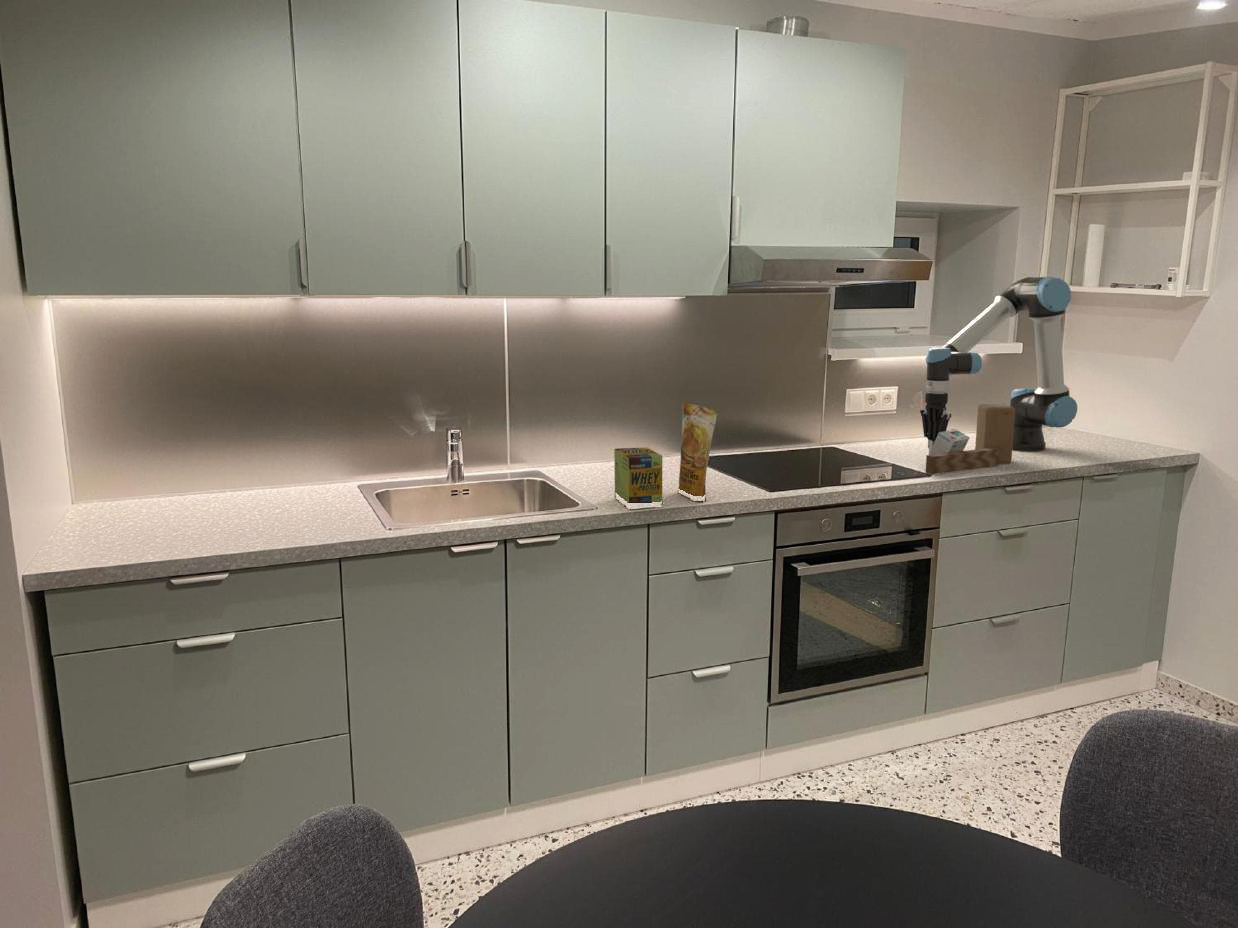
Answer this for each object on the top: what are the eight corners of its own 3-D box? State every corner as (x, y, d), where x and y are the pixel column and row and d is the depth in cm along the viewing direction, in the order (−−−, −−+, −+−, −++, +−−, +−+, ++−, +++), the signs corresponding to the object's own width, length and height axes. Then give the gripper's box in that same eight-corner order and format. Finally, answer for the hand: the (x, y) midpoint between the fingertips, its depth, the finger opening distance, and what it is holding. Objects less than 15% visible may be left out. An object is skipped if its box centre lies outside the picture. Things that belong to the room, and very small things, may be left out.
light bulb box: (942, 454, 331) (954, 427, 326) (958, 463, 327) (970, 437, 321) (926, 458, 324) (938, 431, 319) (941, 467, 320) (954, 441, 315)
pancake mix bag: (690, 489, 291) (691, 400, 286) (718, 502, 274) (719, 408, 268) (671, 491, 289) (671, 402, 283) (698, 504, 271) (699, 410, 266)
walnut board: (991, 464, 324) (992, 447, 323) (997, 466, 322) (999, 449, 320) (925, 472, 312) (926, 455, 311) (932, 474, 309) (933, 456, 308)
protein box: (628, 510, 265) (628, 457, 262) (614, 498, 280) (613, 448, 277) (663, 507, 268) (663, 455, 265) (647, 496, 283) (647, 446, 280)
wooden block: (1012, 464, 325) (1016, 407, 321) (983, 464, 325) (987, 407, 321) (1001, 458, 335) (1005, 403, 331) (973, 458, 335) (977, 403, 331)
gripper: (915, 390, 328) (911, 456, 333) (942, 395, 317) (937, 462, 321) (931, 389, 331) (927, 454, 336) (958, 393, 320) (954, 460, 324)
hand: (932, 458), depth 329 cm, fingers closed
